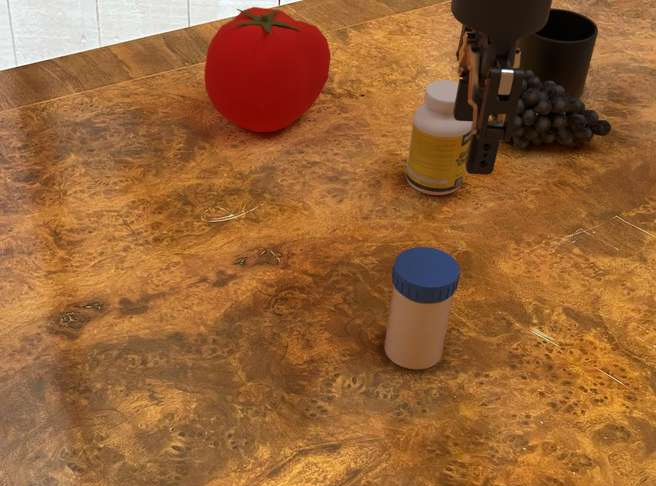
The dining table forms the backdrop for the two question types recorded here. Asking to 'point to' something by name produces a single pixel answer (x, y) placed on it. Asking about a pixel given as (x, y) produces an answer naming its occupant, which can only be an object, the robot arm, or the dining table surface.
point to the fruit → (552, 116)
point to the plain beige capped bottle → (416, 331)
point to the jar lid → (425, 274)
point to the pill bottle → (438, 142)
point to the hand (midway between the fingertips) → (471, 144)
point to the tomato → (266, 69)
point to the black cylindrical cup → (560, 50)
